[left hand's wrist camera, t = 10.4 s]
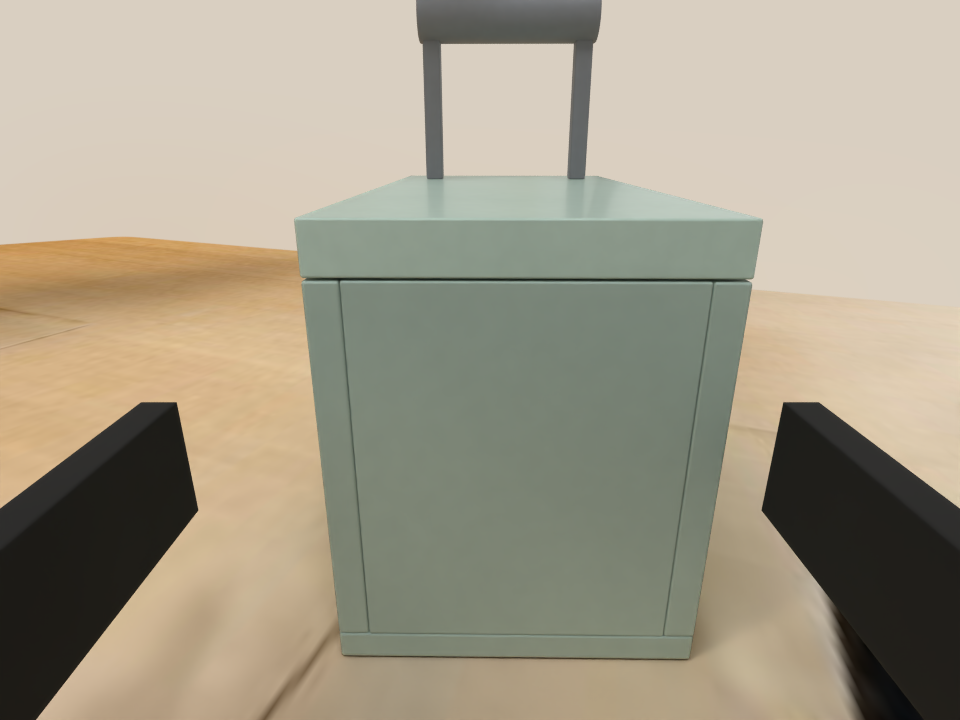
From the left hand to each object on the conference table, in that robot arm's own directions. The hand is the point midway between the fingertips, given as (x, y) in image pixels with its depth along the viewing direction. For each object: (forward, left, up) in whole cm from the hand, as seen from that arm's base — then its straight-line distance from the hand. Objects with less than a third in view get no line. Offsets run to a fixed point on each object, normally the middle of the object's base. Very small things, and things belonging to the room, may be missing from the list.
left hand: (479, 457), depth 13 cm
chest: (+7, -6, -6) cm, 11 cm away
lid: (+8, -6, +4) cm, 10 cm away
